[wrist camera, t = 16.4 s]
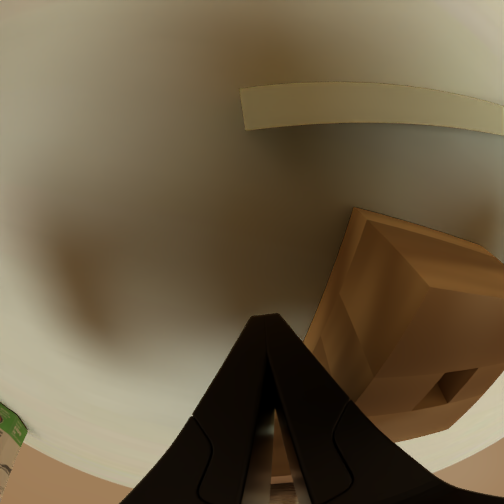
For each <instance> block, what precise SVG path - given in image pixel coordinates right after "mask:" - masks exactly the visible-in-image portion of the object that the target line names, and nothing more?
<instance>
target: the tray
mask: <svg viewBox="0 0 504 504" xmlns="http://www.w3.org/2000/svg"><path fill="white" fill-rule="evenodd" d="M239 92H240V99H241V105H242V112H243V119H244V126H245V131H248V130H256V129H264V128H273V127H283V126H294V125H307V124H325V123H404V124H421V125H433V126H443V127H452V128H460V129H468V130H474V131H481V132H487V133H492V134H497V135H502V136H504V106H501V105H498V104H494V103H491V102H487V101H484V100H480V99H476V98H472V97H468V96H463V95H459V94H454V93H449V92H444V91H438V90H432V89H426V88H419V87H412V86H403V85H394V84H382V83H366V82H302V83H286V84H274V85H264V86H255V87H247V88H240V89H239Z"/></svg>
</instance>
